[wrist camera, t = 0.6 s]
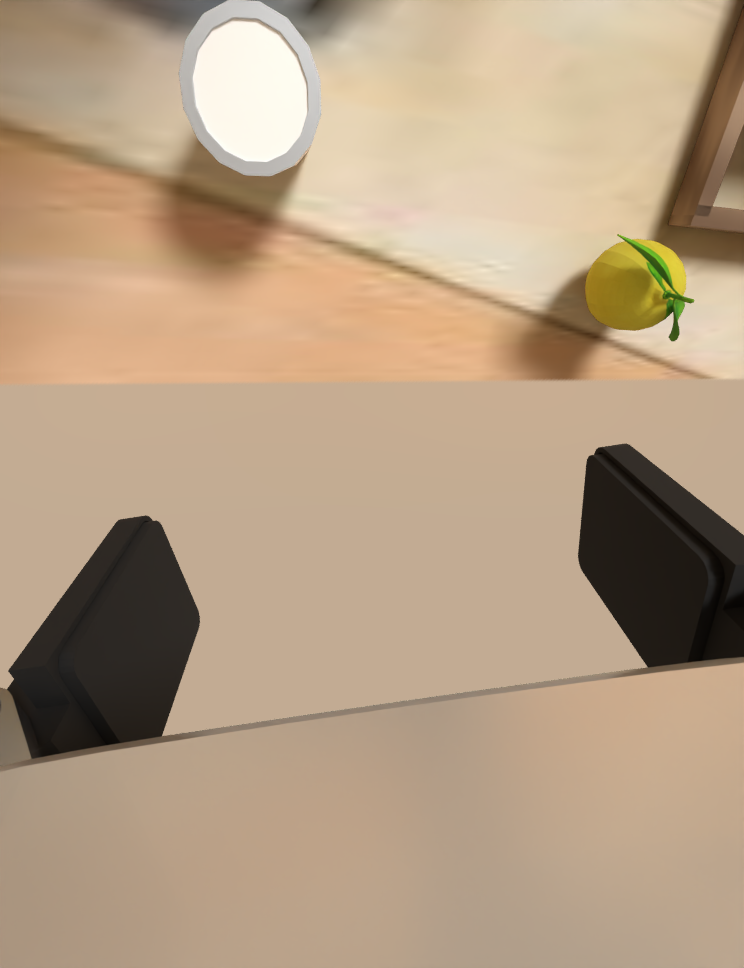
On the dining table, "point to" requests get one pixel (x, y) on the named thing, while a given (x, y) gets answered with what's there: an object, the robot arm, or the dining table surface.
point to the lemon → (636, 286)
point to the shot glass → (250, 88)
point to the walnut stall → (715, 149)
